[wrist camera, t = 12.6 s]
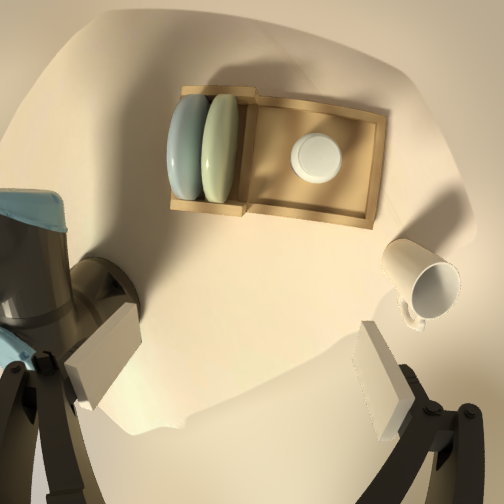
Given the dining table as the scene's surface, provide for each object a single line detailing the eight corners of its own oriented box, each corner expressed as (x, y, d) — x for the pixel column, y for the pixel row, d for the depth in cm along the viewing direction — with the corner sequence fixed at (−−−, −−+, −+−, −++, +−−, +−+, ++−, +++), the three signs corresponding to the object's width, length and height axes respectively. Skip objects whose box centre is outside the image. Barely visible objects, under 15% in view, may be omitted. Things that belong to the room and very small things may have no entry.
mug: (383, 233, 37) (418, 259, 26) (424, 238, 37) (467, 263, 25) (371, 301, 40) (396, 345, 29) (410, 302, 39) (442, 343, 28)
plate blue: (198, 194, 38) (162, 205, 26) (207, 105, 34) (175, 81, 23) (207, 195, 38) (174, 206, 26) (216, 106, 34) (187, 80, 23)
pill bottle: (281, 163, 36) (279, 160, 26) (307, 131, 34) (314, 117, 25) (314, 190, 36) (324, 196, 27) (340, 158, 34) (358, 154, 25)
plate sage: (223, 196, 38) (196, 208, 26) (233, 106, 34) (210, 80, 23) (233, 197, 37) (209, 210, 26) (242, 107, 34) (223, 80, 23)
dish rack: (186, 203, 39) (170, 209, 34) (196, 97, 35) (182, 85, 29) (368, 226, 37) (381, 236, 32) (381, 118, 33) (397, 110, 27)
